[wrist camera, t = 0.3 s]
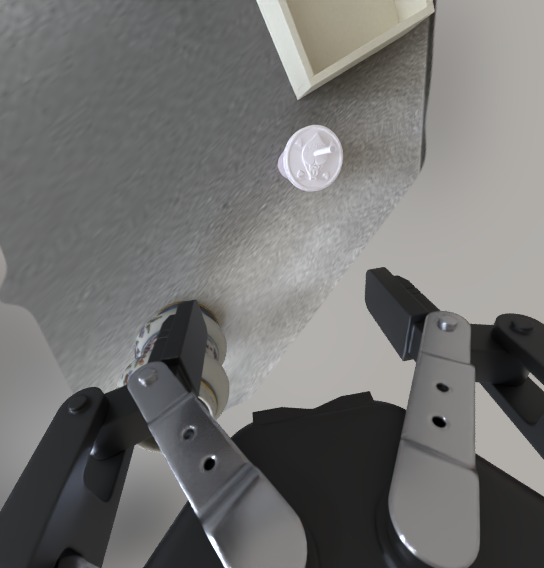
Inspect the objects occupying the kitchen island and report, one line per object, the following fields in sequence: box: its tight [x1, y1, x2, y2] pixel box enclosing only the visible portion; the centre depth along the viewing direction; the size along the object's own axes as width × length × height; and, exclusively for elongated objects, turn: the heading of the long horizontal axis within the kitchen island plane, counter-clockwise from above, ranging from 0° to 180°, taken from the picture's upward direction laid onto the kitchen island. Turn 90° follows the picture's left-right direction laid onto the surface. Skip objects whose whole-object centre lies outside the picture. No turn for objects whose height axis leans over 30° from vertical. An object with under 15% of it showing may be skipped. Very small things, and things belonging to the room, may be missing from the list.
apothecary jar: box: [116, 301, 229, 453], centre depth 34 cm, size 12×12×18 cm
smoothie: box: [278, 125, 343, 192], centre depth 30 cm, size 6×6×14 cm
